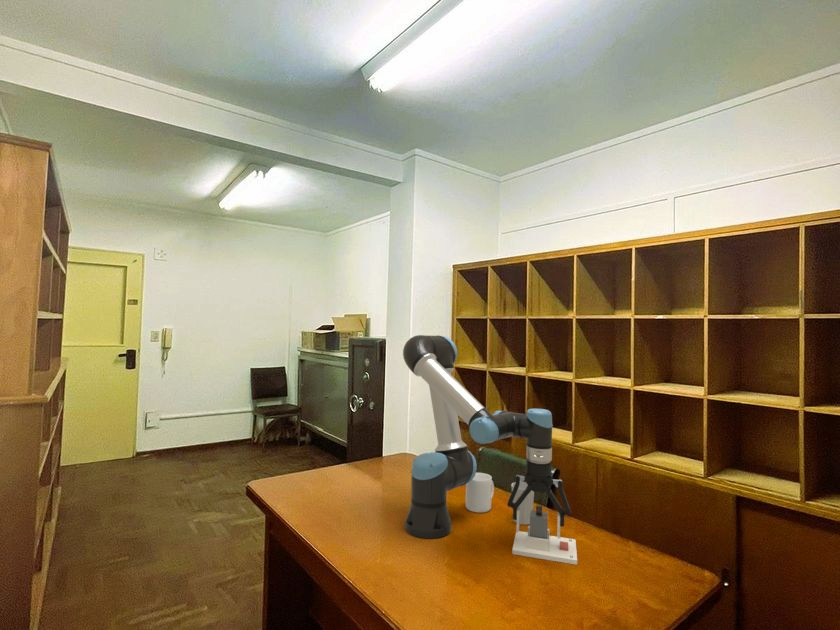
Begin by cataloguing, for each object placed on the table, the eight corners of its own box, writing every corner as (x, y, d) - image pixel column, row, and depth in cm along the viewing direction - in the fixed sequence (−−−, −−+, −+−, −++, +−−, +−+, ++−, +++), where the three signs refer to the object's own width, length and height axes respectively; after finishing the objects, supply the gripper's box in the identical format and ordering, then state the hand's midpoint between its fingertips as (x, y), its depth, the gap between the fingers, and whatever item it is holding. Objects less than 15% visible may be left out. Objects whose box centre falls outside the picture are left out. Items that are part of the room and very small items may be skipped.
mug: (460, 508, 166) (460, 476, 167) (478, 500, 175) (479, 469, 175) (481, 515, 160) (482, 482, 160) (499, 506, 168) (500, 475, 169)
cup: (534, 526, 151) (535, 490, 152) (510, 524, 153) (511, 488, 153) (533, 517, 159) (534, 483, 159) (510, 515, 160) (511, 481, 161)
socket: (512, 554, 131) (512, 539, 131) (516, 534, 145) (516, 521, 145) (577, 564, 126) (577, 549, 126) (575, 543, 139) (575, 529, 139)
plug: (529, 550, 134) (530, 508, 134) (530, 543, 139) (531, 502, 139) (546, 553, 132) (547, 510, 133) (547, 545, 137) (547, 504, 138)
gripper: (498, 459, 137) (497, 532, 136) (580, 468, 130) (579, 545, 129) (501, 453, 144) (500, 523, 143) (579, 461, 137) (578, 534, 136)
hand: (538, 533), depth 136 cm, fingers open, 11 cm apart
